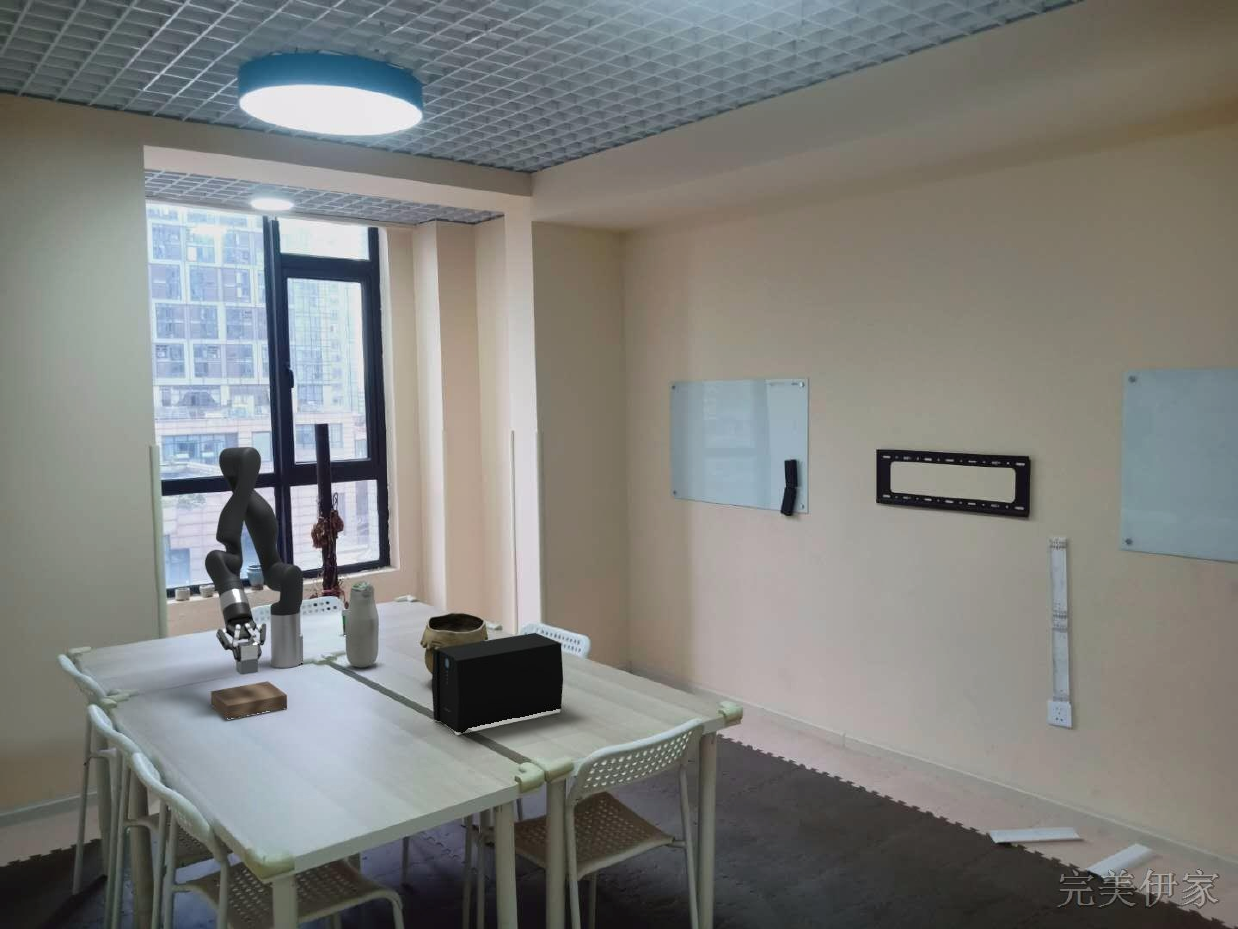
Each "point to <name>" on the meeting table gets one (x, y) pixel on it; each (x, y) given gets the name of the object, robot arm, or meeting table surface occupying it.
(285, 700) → the walnut stand
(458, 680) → the uninterruptible power supply
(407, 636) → the meeting table surface
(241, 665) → the block
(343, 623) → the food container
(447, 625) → the clay pot
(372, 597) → the grey bottle
